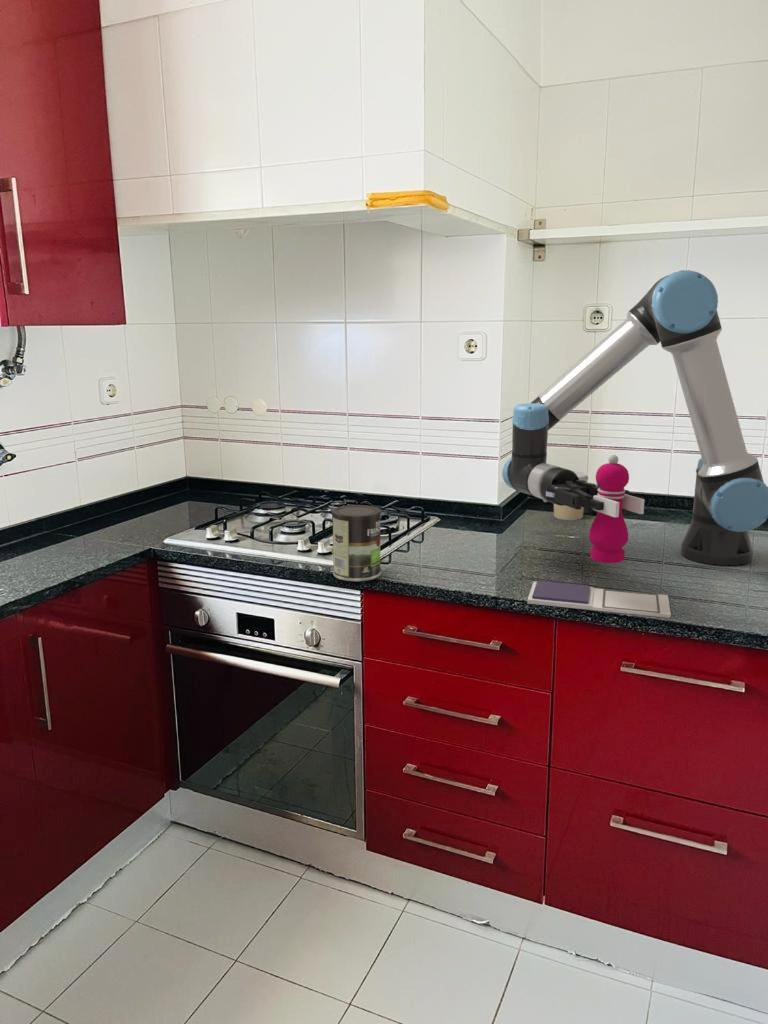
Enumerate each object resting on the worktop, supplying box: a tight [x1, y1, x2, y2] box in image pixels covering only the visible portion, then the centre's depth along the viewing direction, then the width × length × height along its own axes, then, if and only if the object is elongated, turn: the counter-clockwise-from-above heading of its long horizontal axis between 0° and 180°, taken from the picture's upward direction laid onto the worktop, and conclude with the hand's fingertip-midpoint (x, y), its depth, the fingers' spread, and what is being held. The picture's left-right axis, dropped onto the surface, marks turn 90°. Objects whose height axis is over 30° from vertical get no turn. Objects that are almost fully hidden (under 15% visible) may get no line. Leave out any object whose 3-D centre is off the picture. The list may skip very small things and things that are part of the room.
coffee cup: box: [553, 470, 589, 521], centre depth 215 cm, size 9×9×12 cm
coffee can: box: [331, 504, 382, 582], centre depth 166 cm, size 10×10×14 cm
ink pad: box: [527, 580, 595, 611], centre depth 154 cm, size 12×11×1 cm
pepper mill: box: [588, 454, 630, 564], centre depth 148 cm, size 7×7×20 cm
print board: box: [591, 587, 672, 619], centre depth 151 cm, size 14×11×1 cm
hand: (629, 508), depth 143 cm, fingers closed on pepper mill, 5 cm apart
